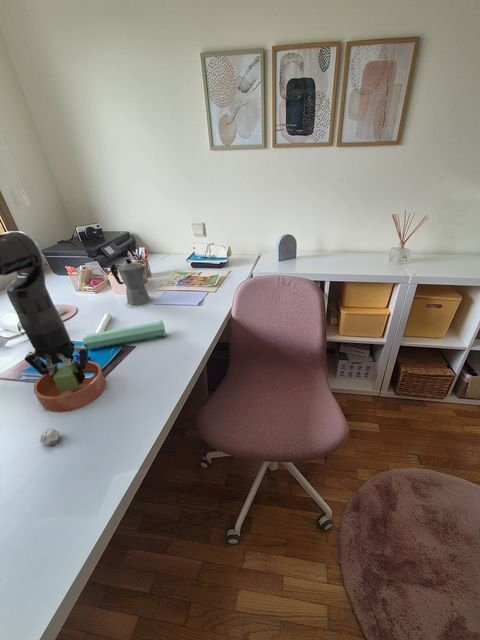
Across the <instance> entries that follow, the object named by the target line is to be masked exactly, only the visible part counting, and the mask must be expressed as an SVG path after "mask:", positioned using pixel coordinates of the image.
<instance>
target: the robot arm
mask: <svg viewBox="0 0 480 640" xmlns="http://www.w3.org/2000/svg"><path fill="white" fill-rule="evenodd" d="M14 273H15V278H14V279H13V281H12V282H10V283H9V284H8V285H7V286H6V288H5V293H6V295H7V298H8V299H9V302H10V303H11V305H12V307H13V309H14V311H15V313H16V315H17V318H18V321H19V323H20V325H21V328H22V330H23V331H24V333H25V335H26V336H27V338H28V340H29V341H30V345H31V346H32V348H33V349H34V351H29V352H28V353H27V354H26V355H25V357H24V361H25V362H27V364H29V365H30V366H31V367H32V368H33V369H34V370H35V371H37V373H38V374H40V375H41V376H42V375H45V374H49V375H50V376H52V378H53V377H54V375H55V374H56V372H57V370H58V366H59V365H58V364H66V366H67V367H70V368H71V369H72V371H73V372H74V375H75V377H76V379H77V381H78V383H79V384H80V383H82V382H83V380H84V378H85V375H84V373H83V371H82V370H83V369H85V367H86V365H87V363H88V361H89V360H88V359H89V349H88V346H87V345H84V344H83V345H82V346H81V345H76V344H75V343H74V342H72V340H71V338H70V337H71V336H70V335H69V333H68V330H67V328H66V326H65V323H64V321H63V319H62V316H61V314H60V312H59V311H58V309H57V307H56V305H55V303H54V301H53V299H52V297H51V295H50V293H49V291H48V289H47V286H46V277H45V269H44V261H43V255H42V252H41V250H40V248H39V246H38V244H37V242H35V240H34V239H33V238H32V237H31V236H30V235H28V234H26V233H25V232H23V231H18V230H12V231H7V232H4V233H0V277H1V276H2V277H3V276H4V277H5V276H9V275H11V274H14ZM74 352H76V354H77V356H78V357H79V360H78V359H77V356H76V355H75V354H74ZM78 361H80V363H79V362H78ZM53 380H54V379H53ZM54 382H55V381H54Z"/></svg>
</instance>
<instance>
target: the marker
mask: <svg viewBox="0 0 480 640" xmlns="http://www.w3.org/2000/svg"><path fill="white" fill-rule="evenodd" d="M111 319H112V314H111V313H110V312H106V313H105V314H104V317H103V319H102V320H101V322H100V323H99V326H98V327H97V329H96V330H95V331H96V332H95V333H98V332H104V331H106V328H107V326H108V324H109V322H110V320H111Z"/></svg>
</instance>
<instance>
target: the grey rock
mask: <svg viewBox="0 0 480 640" xmlns="http://www.w3.org/2000/svg"><path fill="white" fill-rule="evenodd" d="M59 436H60V431H58V430H56V429H55V428H52V427H49V428H47V429H44V430H42V432H41V436H40V441H39V442H40V443H41V444H44V445H45V446H53V445H55V444H57V443H58V440H59Z"/></svg>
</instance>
